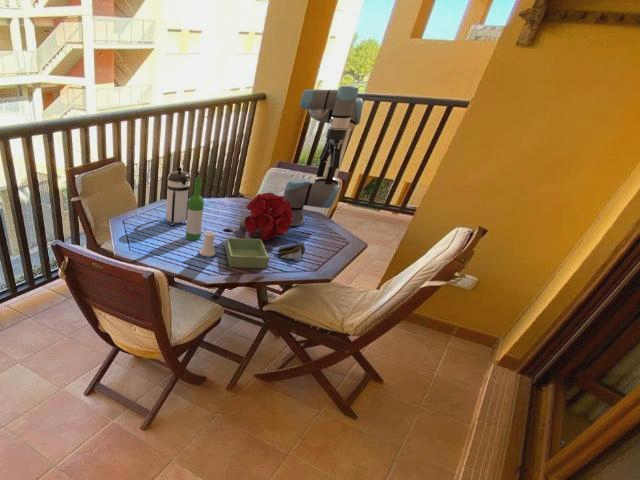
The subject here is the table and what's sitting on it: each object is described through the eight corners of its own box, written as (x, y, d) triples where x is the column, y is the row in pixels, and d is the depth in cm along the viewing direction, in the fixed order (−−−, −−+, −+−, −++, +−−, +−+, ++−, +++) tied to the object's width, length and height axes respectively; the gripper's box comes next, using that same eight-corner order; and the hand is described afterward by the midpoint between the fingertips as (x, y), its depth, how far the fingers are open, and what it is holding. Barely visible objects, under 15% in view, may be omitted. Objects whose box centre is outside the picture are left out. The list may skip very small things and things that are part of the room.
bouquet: (230, 248, 209) (275, 236, 183) (223, 204, 206) (267, 185, 179) (259, 243, 219) (305, 231, 192) (252, 200, 216) (298, 182, 189)
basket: (225, 248, 193) (226, 237, 190) (259, 249, 191) (261, 239, 188) (229, 266, 175) (230, 256, 172) (266, 268, 174) (269, 257, 171)
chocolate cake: (274, 259, 183) (296, 246, 173) (276, 249, 187) (298, 237, 177) (286, 271, 186) (309, 260, 176) (288, 262, 190) (311, 250, 180)
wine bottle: (188, 234, 209) (193, 175, 191) (202, 236, 205) (208, 177, 188) (183, 239, 203) (187, 179, 186) (197, 241, 200) (203, 181, 182)
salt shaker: (211, 257, 183) (214, 237, 177) (196, 254, 186) (198, 234, 180) (217, 252, 188) (220, 232, 182) (203, 249, 192) (205, 229, 186)
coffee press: (194, 220, 226) (199, 165, 209) (182, 228, 215) (186, 171, 198) (167, 215, 234) (170, 162, 216) (155, 223, 223) (156, 167, 205)
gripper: (320, 124, 176) (308, 173, 189) (337, 133, 156) (323, 187, 168) (337, 124, 175) (324, 174, 188) (357, 133, 155) (341, 187, 168)
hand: (323, 180), depth 178 cm, fingers open, 13 cm apart
